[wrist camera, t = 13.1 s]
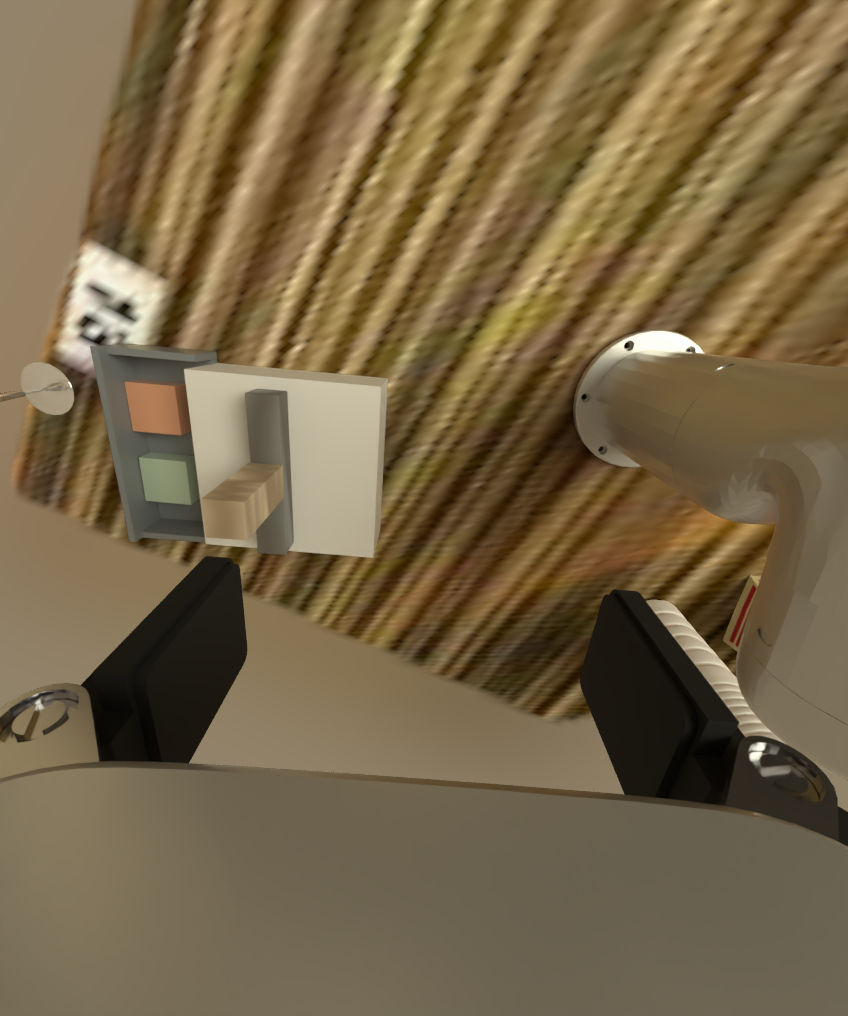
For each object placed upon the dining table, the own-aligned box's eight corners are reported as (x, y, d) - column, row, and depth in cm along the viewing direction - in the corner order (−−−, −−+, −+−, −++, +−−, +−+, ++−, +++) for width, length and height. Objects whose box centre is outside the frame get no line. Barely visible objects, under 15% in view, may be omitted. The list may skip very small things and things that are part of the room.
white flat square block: (387, 378, 41) (380, 386, 35) (380, 530, 47) (373, 557, 42) (217, 362, 41) (183, 369, 35) (232, 518, 47) (205, 543, 41)
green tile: (138, 457, 42) (150, 451, 44) (145, 500, 43) (157, 493, 45) (185, 461, 42) (196, 456, 44) (191, 504, 44) (200, 497, 45)
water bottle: (642, 590, 50) (824, 820, 27) (690, 609, 51) (905, 847, 28) (601, 646, 53) (732, 894, 30) (646, 662, 54) (808, 916, 31)
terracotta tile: (124, 381, 39) (138, 379, 41) (132, 431, 41) (145, 426, 43) (174, 386, 39) (186, 383, 41) (181, 435, 41) (192, 430, 43)
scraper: (289, 391, 36) (236, 416, 26) (295, 542, 41) (253, 609, 32) (254, 388, 36) (189, 412, 26) (265, 539, 41) (215, 606, 31)
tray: (216, 351, 40) (188, 355, 36) (233, 526, 47) (211, 548, 43) (129, 343, 40) (90, 346, 36) (159, 520, 47) (129, 541, 43)
